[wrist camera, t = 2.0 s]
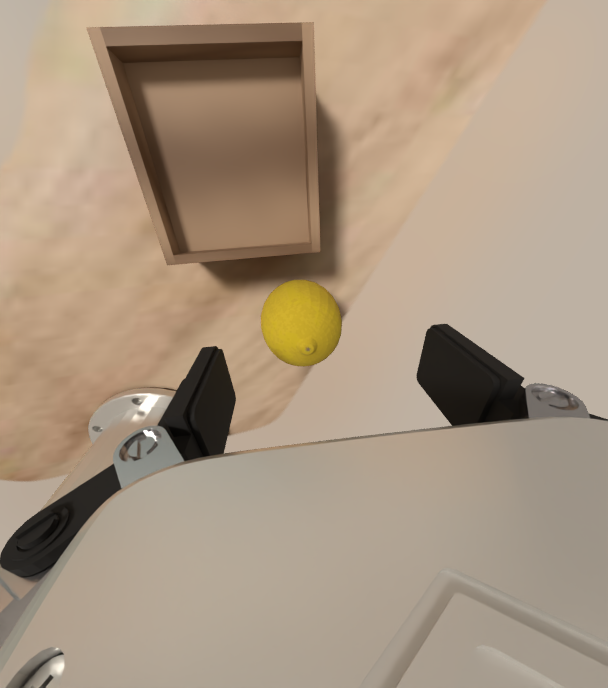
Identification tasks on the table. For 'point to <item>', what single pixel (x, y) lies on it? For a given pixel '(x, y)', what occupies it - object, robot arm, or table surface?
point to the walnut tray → (219, 134)
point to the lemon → (301, 323)
